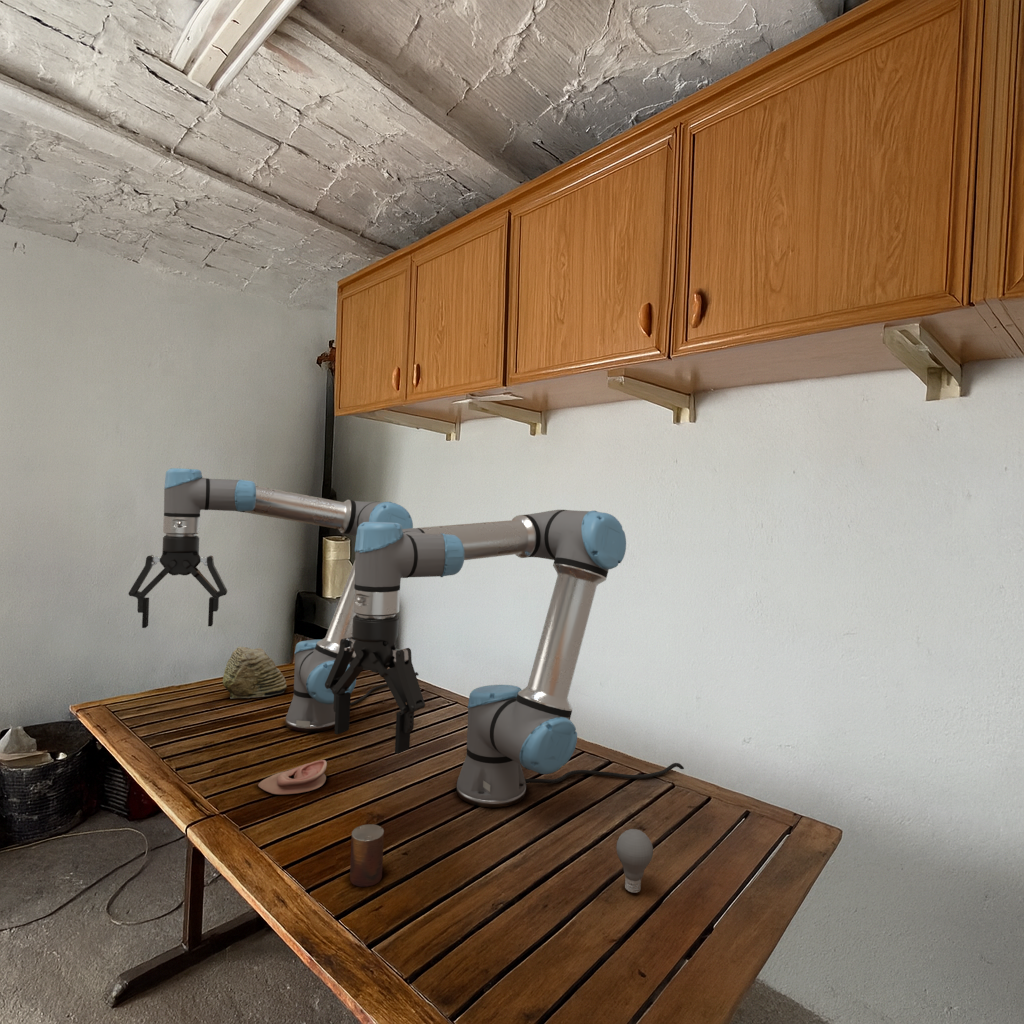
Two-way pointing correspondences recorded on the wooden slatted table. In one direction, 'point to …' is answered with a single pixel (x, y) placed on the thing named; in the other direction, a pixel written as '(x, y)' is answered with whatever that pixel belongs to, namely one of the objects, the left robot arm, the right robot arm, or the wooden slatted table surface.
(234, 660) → the fossil
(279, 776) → the anatomical model
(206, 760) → the wooden slatted table surface
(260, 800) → the wooden slatted table surface
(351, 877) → the tin
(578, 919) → the wooden slatted table surface
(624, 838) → the light bulb
